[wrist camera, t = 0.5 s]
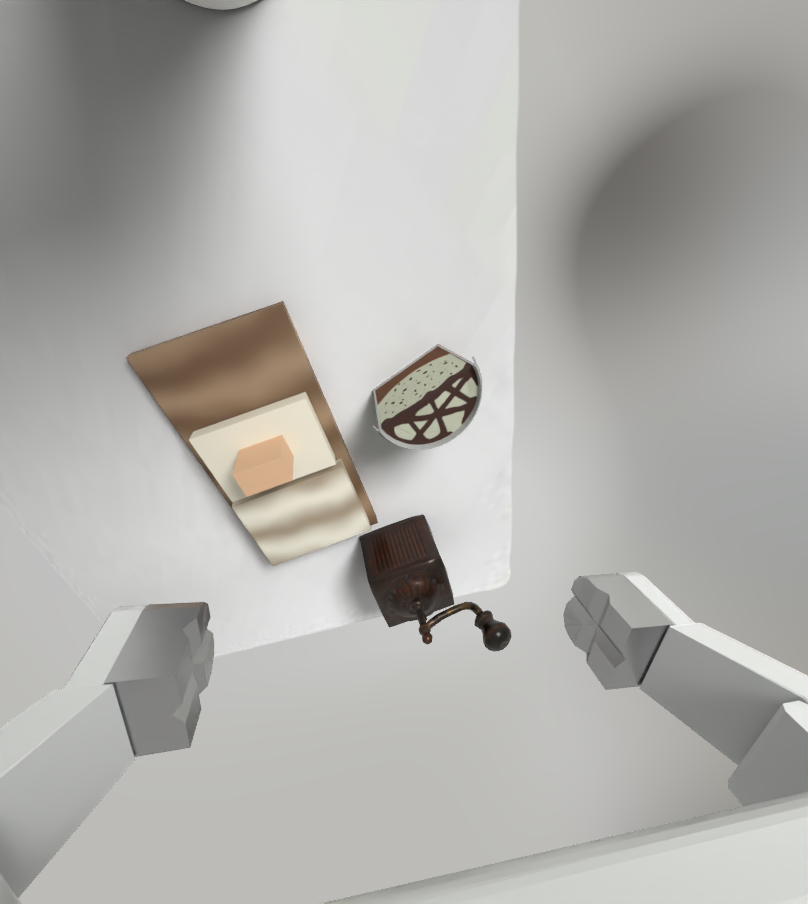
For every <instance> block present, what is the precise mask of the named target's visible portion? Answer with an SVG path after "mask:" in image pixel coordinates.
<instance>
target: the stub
mask: <svg viewBox="0 0 808 904" xmlns="http://www.w3.org/2000/svg"><path fill="white" fill-rule="evenodd" d="M189 441H190V443H191V444H192V446H193V447H194V448H195V450H196V451H197V453H198V454H199V456H200V457H201V458H202V460H203V461H204V463H205V464H206V466H207V467H208V469H209V470H210V471H211V473H212V474H213V476H214V477H215V479H216V480H217V481H218V483H219V484H220V486H221V487H222V489H223V490H224V491H225V493H226V494H227V496H228V497H229V499H230V500H231V501H232V502H234V501H237V500H239V499H242V498H245V497H248V496H251V495H254V494H257V493H259V492H262V491H265V490H268V489H270V488H273V487H276V486H279V485H281V484H284V483H287V482H290V481H292V480H294V479H297V478H300V477H303V476H305V475H308V474H311V473H314V472H317V471H319V470H322V469H325V468H328V467H330V466H333V465H336V459H335V455H334V452H333V450H332V448H331V446H330V444H329V442H328V439H327V437H326V435H325V433H324V431H323V428H322V426H321V424H320V422H319V420H318V418H317V415H316V413H315V411H314V409H313V407H312V405H311V402H310V400H309V398H308V396H307V394H306V392H303V393H301V394H298V395H295V396H292V397H289V398H286V399H284V400H281V401H278V402H275V403H272V404H270V405H267V406H264V407H261V408H258V409H255V410H253V411H250V412H247V413H244V414H241V415H238V416H236V417H233V418H230V419H227V420H224V421H221V422H219V423H216V424H213V425H210V426H207V427H205V428H202V429H199V430H196V431H193V433H192V435H191V437H190V439H189Z"/></svg>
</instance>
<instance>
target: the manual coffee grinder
mask: <svg viewBox="0 0 808 904" xmlns="http://www.w3.org/2000/svg"><path fill="white" fill-rule="evenodd" d="M360 541H361V546H362V551H363V557H364V562H365V567H366V572H367V577H368V582H369V585H370V587H371V590H372V593H373V595H374V597H375V599H376V601H377V604H378V606H379V608H380V610H381V612H382V615H383V616H384V618H385V620H386V622H387V624H388V626H389V627H392V626H395V625H398V624H401V623H404V622H407V621H413V620H418V621H419V624H420V627H419V632H420V634H421V635H422V639H423V642H424V643H425V644H430V643H431V642H432V635H431V634H430V631H431V630H430V629H431V628H432V627H433V626H435V625H436V624H437V623H439V622H440V621H441V620H443V619H445V618H447V617H449V616H451V615H452V614H455V613H457V612H459V611H461V610H465V609H469V610H472V611H473V612H474V613H475V614H476V615H477V616H476V619H475V626H476V627H478V628H479V629H481V630H482V633H483V642H484V644H485V647H486V648H488V649H489V650H491V651H500V650H503V649H504V648H505V647H506V646H507V645H508V643H509V641H510V639H511V632H510V629H509V628H508V627H507V626H506V624H505V623H502V622H499V621H496V620H494V619H493V615H492V613H491V612H490V611H484V612H483V611H482V610H481V608H480V607H479V606H478V605H477V604H475V603H472V602H464V603H461V604H458V605H455V606H453V607H451V608H449V609H447V610H445V611H443V612H441V613H439V614H437V615H435V616H434V617H433V618H432V619H430V620H429V621H428V622H427V623H426V620H427V618H426V617H427V616H429V615H431V614H432V613H433V612H435V611H437V610H440V609H443V608H446V607H448V606H451V605H453V604H454V600H453V593H452V589H451V586H450V583H449V579H448V575H447V571H446V568H445V566H444V564H443V561H442V559H441V557H440V555H439V552H438V549H437V547H436V544H435V542H434V539H433V536H432V532H431V529H430V527H429V525H428V523H427V521H426V518H425V516H424V515H419V516H414V517H410V518H407V519H404V520H402V521H399V522H396V523H393V524H390V525H387V526H385V527H382V528H380V529H377V530H375V531H372V532H370V533H367V534H365V535H362V536H360Z"/></svg>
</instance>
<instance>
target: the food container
mask: <svg viewBox="0 0 808 904" xmlns="http://www.w3.org/2000/svg"><path fill="white" fill-rule="evenodd" d="M472 358H473V361H474V363H472V362H470V361H468V360H466V359H464V358H463V357H461V356H459V355H457V354H455V353H453V352H452V351H450V350H448V349H446V348H444V347H442V346H441V345H439V344H437V345H436V346H434V347H433V348H431V349H430V350H429V351H427V352H426V353H424V354H423V355H422V356H420V357H419V358H417V359H416V360H414V361H413V362H412V363H410V364H409V365H407V366H406V367H404V368H403V369H402V370H400V371H399V372H397V373H396V374H395V375H393V376H392V377H390V378H389V379H387V380H386V381H385V382H383V383H382V384H380V385H379V386H378V387H376V388H375V389H373V394H374V400H375V407H376V414H377V420H378V427H379V429H377V428H376V427H375V426H374V425H373V427H374V428H375V429H376V430H377V431H378V432H379V434H380V435H381V436H382V437H384V438H385V439H386V440H388V441H389V442H391V443H393V444H395V445H398V446H401V447H404V448H407V449H414V450H424V449H431V448H435V447H438V446H441V445H443V444H446V443H448V442H449V441H451V440H453V439H454V438H456V437H457V436H458V435H460V434H461V433H462V432H463V431H464V430H465V429H466V428H467V427H468V425H469V424H470V423H471V421H472V420H473V418H474V416H475V415H476V413H477V410H478V408H479V405H480V401H481V395H482V378H481V374H480V370H479V367H478V365H477V363H476V361H475V359H474V357H472Z"/></svg>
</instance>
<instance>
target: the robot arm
mask: <svg viewBox="0 0 808 904" xmlns="http://www.w3.org/2000/svg"><path fill="white" fill-rule="evenodd" d="M184 1H187V2H189V3H192V4H194V5H197V6H201V7H205V8H210V9H220V10H225V9H235V8H239V7H243V6H246V5H249V4H251V3H253V2H255V1H257V0H184ZM571 590H572V592H573V594H574V597H573V598H572V599H571V600H570V601H569V602H568V603H567V604H566V608H565V611H564V623H565V628H566V630H567V633H568V635H569V637H570V639H571V640H572V642H573V643H574V645H575V646H577V647H578V648H580V649H581V650H583V651H584V652H586V653H587V664H588V665H589V667H590V668H591V669H592V671H593V672H594V673H595V675H596V677H597V678H598V680H599V681H600V682H601V684H602V685H603V687H604V688H605V689H606V690H608V689H617V688H626V687H636V686H640V689H641V690H642V691H644V692H645V693H646V694H647V695H649V696H650V697H651V698H652V699H654V700H655V701H656V702H658V703H659V704H660V705H661V706H663V707H664V708H665V709H667V710H668V711H669V712H670V713H672V714H673V715H674V716H676V717H677V718H678V719H679V720H681V721H682V722H683V723H684V724H686V725H687V726H688V727H690V728H691V729H692V730H694V731H695V732H696V733H697V734H699V735H700V736H701V737H702V738H704V739H705V740H706V741H708V742H709V743H710V744H711V745H713V746H714V747H715V748H717V749H718V750H719V751H720V752H722V753H723V754H724V755H726V756H727V757H728V758H729V759H731V760H732V761H733V762H734V763H736V764H737V765H738V767H737V769H736V770H735V771H734V773H733V774H732V775H731V777H730V778H729V780H728V783H729V784H728V786H729V789H730V790H731V792H732V793H733V794H734V796H735V797H736V798H737V799H738V801H739V802H740V803H741V804H742V806H743V807H738V808H734V809H730V810H725V811H721V812H717V813H712V814H708V815H704V816H699V817H695V818H690V819H686V820H682V821H678V822H673V823H669V824H664V825H660V826H656V827H652V828H647V829H643V830H639V831H634V832H630V833H626V834H621V835H617V836H612V837H608V838H603V839H599V840H595V841H590V842H586V843H582V844H578V845H573V846H569V847H564V848H560V849H556V850H551V851H547V852H543V853H538V854H534V855H530V856H525V857H521V858H516V859H512V860H508V861H504V862H499V863H495V864H490V865H486V866H482V867H477V868H473V869H469V870H464V871H460V872H456V873H451V874H447V875H443V876H438V877H434V878H429V879H425V880H421V881H416V882H413V883H408V884H403V885H399V886H395V887H391V888H386V889H382V890H377V891H374V892H369V893H364V894H360V895H356V896H351V897H347V898H343V899H338V900H334V901H330V902H325V903H321V904H808V676H807V675H805V674H803V673H801V672H799V671H797V670H795V669H793V668H791V667H789V666H787V665H785V664H783V663H781V662H779V661H777V660H775V659H773V658H771V657H769V656H767V655H765V654H763V653H761V652H759V651H757V650H755V649H753V648H751V647H749V646H747V645H745V644H743V643H741V642H738V641H737V640H735V639H733V638H731V637H729V636H727V635H725V634H722V633H721V632H718V631H716V630H714V629H712V628H710V627H708V626H706V625H704V624H702V623H694V622H693V621H692V620H691V619H690V618H689V617H688V616H687V615H686V614H685V613H684V612H682V611H681V610H680V609H679V608H678V607H677V606H676V605H675V604H674V603H673V602H672V601H670V600H669V599H668V598H667V597H666V596H665V595H664V594H663V593H662V592H661V591H660V590H658V589H657V588H656V587H655V586H654V585H653V584H652V583H651V582H650V581H649V580H648V579H647V578H646V577H645V576H643V575H642V574H639V573H637V572H626V573H616V574H602V575H590V576H579V577H578V578H577V579H576V580H575V581H574V583H573V586H572V589H571ZM209 619H210V612H209V607H208V604H207V603H205V602H196V603H174V604H152V605H146V606H120V607H118V608H117V609H115V610H114V611H113V612H112V613H111V614H110V615H109V617H108V618H107V620H106V621H105V623H104V625H103V626H102V628H101V629H100V631H99V633H98V634H97V636H96V638H95V639H94V640H93V642H92V644H91V645H90V647H89V648H88V650H87V652H86V653H85V655H84V656H83V658H82V660H81V661H80V663H79V664H78V666H77V667H76V669H75V671H74V672H73V674H72V675H71V677H70V678H69V680H68V682H67V683H66V685H65V687H64V688H63V689H58V690H52V691H50V692H49V693H48V694H46V695H45V696H44V697H42V698H41V699H39V700H38V701H37V702H35V703H34V704H33V705H31V706H30V707H29V708H27V709H26V710H24V711H23V712H22V713H20V714H19V715H18V716H16V717H15V718H14V719H12V720H11V721H9V722H8V723H7V724H5V725H4V726H3V727H1V728H0V904H21V903H20V901H19V900H18V898H19V897H20V895H21V894H22V893H23V892H24V891H25V889H26V888H27V887H28V886H29V885H30V884H31V882H32V881H33V880H34V879H35V878H36V876H37V875H38V874H39V873H40V872H41V871H42V869H43V868H44V867H45V866H46V865H47V863H48V862H49V861H50V860H51V859H52V858H53V856H54V855H55V854H56V853H57V852H58V851H59V849H60V848H61V847H62V846H63V845H64V843H65V842H66V841H67V840H68V839H69V838H70V836H71V835H72V834H73V833H74V832H75V831H76V829H77V828H78V827H79V826H80V825H81V823H82V822H83V821H84V820H85V819H86V818H87V816H88V815H89V814H90V813H91V812H92V811H93V809H94V808H95V807H96V806H97V805H98V803H99V802H100V801H101V800H102V799H103V798H104V796H105V795H106V794H107V793H108V792H109V790H110V789H111V788H112V787H113V786H114V784H115V783H116V782H117V781H118V780H119V779H120V777H121V776H122V775H123V774H124V773H125V772H126V770H127V769H128V768H129V767H130V766H131V765H132V763H133V762H134V761H135V757H137V756H143V755H149V754H154V753H161V752H167V751H173V750H179V749H184V748H190V746H191V743H192V739H193V736H194V732H195V729H196V725H197V722H198V718H199V715H200V711H201V705H200V699H199V694H200V693H201V692H202V691H203V690H204V689H205V688H206V687H207V686H208V682H209V679H210V675H211V671H212V664H213V657H214V640H213V633H211V632H210V631H209V630H208V629H207V625H208V622H209Z"/></svg>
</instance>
